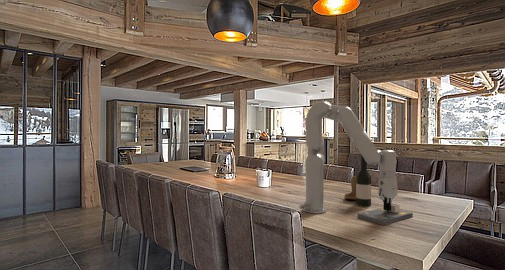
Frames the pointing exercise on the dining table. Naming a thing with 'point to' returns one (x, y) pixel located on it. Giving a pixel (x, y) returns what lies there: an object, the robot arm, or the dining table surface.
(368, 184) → the wine bottle
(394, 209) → the fader knob
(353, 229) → the dining table surface
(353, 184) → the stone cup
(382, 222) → the fader console
